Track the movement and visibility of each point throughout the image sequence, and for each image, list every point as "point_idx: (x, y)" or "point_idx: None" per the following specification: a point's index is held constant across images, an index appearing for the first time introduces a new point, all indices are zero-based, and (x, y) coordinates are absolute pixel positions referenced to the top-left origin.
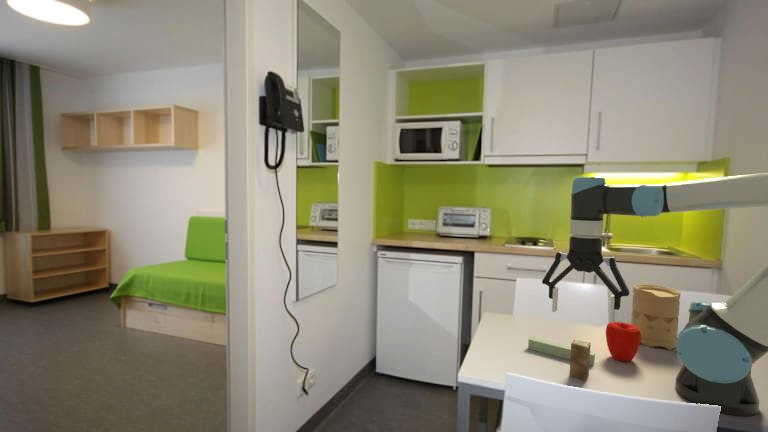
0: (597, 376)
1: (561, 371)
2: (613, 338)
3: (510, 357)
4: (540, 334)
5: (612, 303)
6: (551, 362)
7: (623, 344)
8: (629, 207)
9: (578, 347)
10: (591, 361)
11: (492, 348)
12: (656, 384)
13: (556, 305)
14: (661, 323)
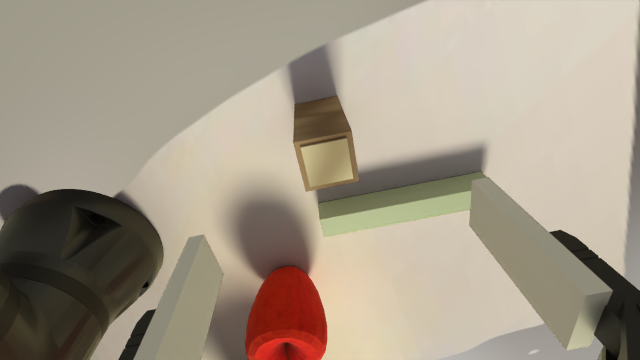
0: (287, 156)
1: (364, 109)
2: (297, 301)
3: (513, 75)
4: (474, 268)
5: (155, 329)
6: (403, 141)
7: (272, 295)
8: None
9: (325, 134)
10: (323, 208)
11: (578, 90)
12: (186, 218)
13: (486, 225)
14: None
